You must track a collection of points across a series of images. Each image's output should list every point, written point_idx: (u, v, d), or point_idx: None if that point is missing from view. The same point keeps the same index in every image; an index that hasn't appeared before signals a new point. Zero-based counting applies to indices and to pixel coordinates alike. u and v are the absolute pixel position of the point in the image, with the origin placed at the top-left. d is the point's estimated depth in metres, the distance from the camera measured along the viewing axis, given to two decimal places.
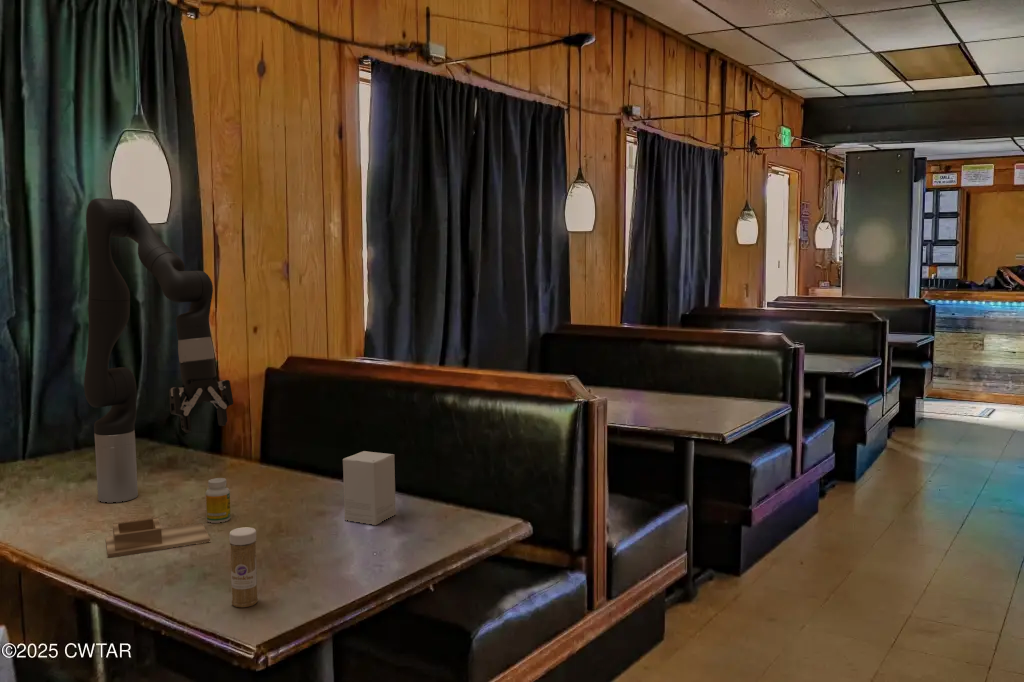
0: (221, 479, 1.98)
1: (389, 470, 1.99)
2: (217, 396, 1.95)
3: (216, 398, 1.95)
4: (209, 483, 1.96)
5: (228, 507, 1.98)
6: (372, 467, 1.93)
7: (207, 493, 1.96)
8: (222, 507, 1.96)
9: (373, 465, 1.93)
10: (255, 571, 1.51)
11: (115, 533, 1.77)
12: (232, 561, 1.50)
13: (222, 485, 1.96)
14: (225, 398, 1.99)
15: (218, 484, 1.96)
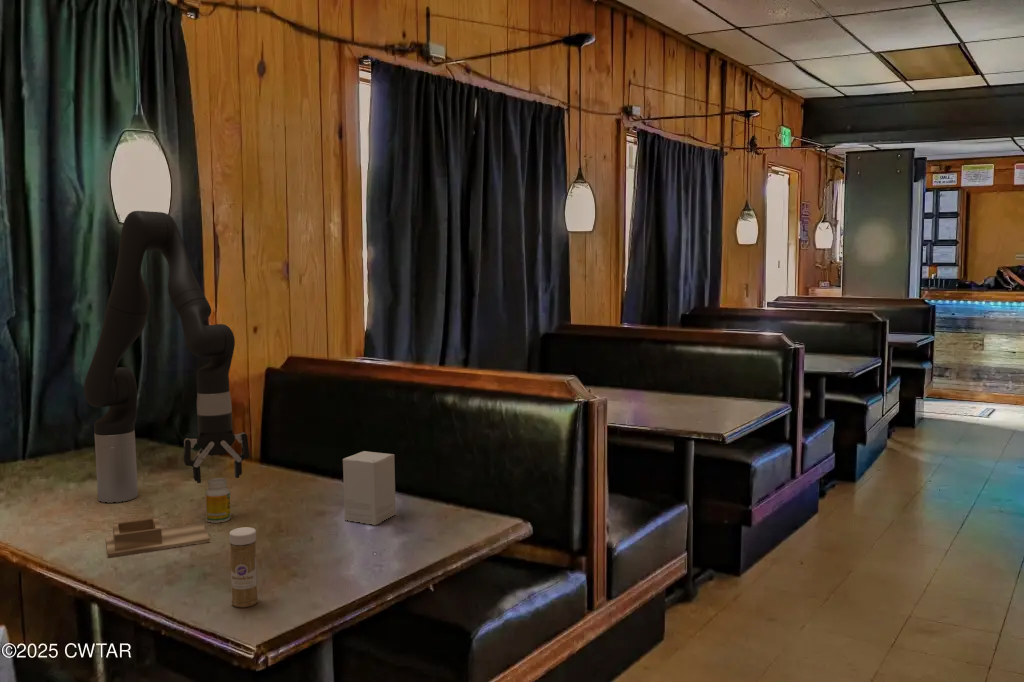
0: (221, 479, 1.98)
1: (389, 470, 1.99)
2: (231, 450, 1.97)
3: (229, 452, 1.97)
4: (209, 483, 1.96)
5: (228, 507, 1.98)
6: (372, 467, 1.93)
7: (207, 493, 1.96)
8: (222, 507, 1.96)
9: (373, 465, 1.93)
10: (255, 571, 1.51)
11: (115, 533, 1.77)
12: (232, 561, 1.50)
13: (222, 485, 1.96)
14: None
15: (218, 484, 1.96)
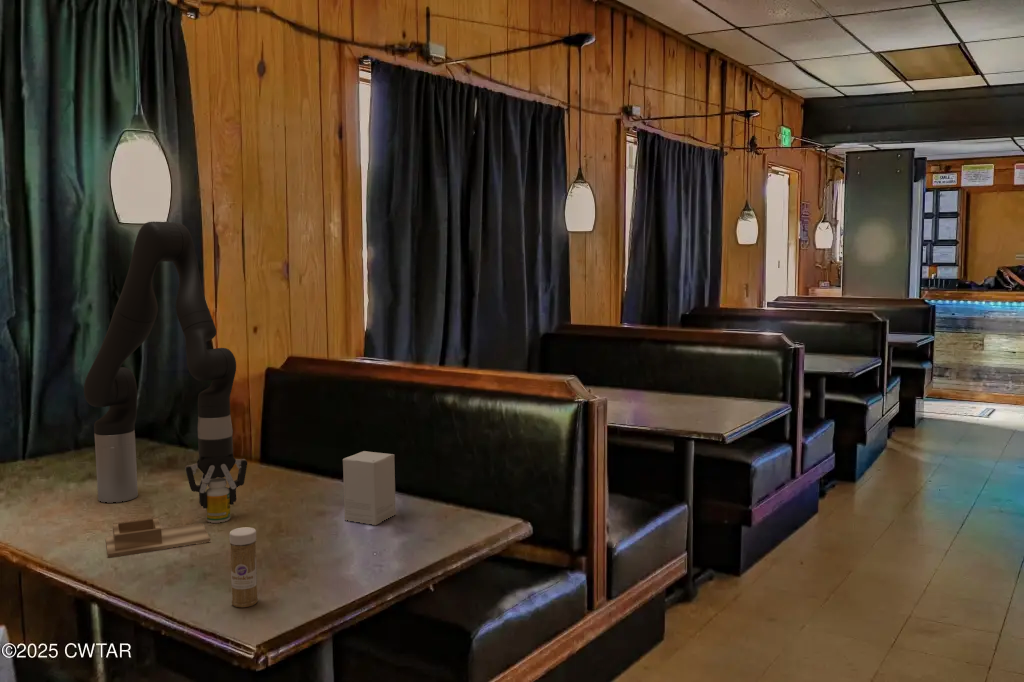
0: (221, 479, 1.98)
1: (389, 470, 1.99)
2: (228, 475, 1.97)
3: (227, 477, 1.97)
4: (209, 483, 1.96)
5: (228, 507, 1.98)
6: (372, 467, 1.93)
7: (207, 493, 1.96)
8: (222, 507, 1.96)
9: (373, 465, 1.93)
10: (255, 571, 1.51)
11: (115, 533, 1.77)
12: (232, 561, 1.50)
13: (222, 485, 1.97)
14: None
15: (218, 484, 1.96)
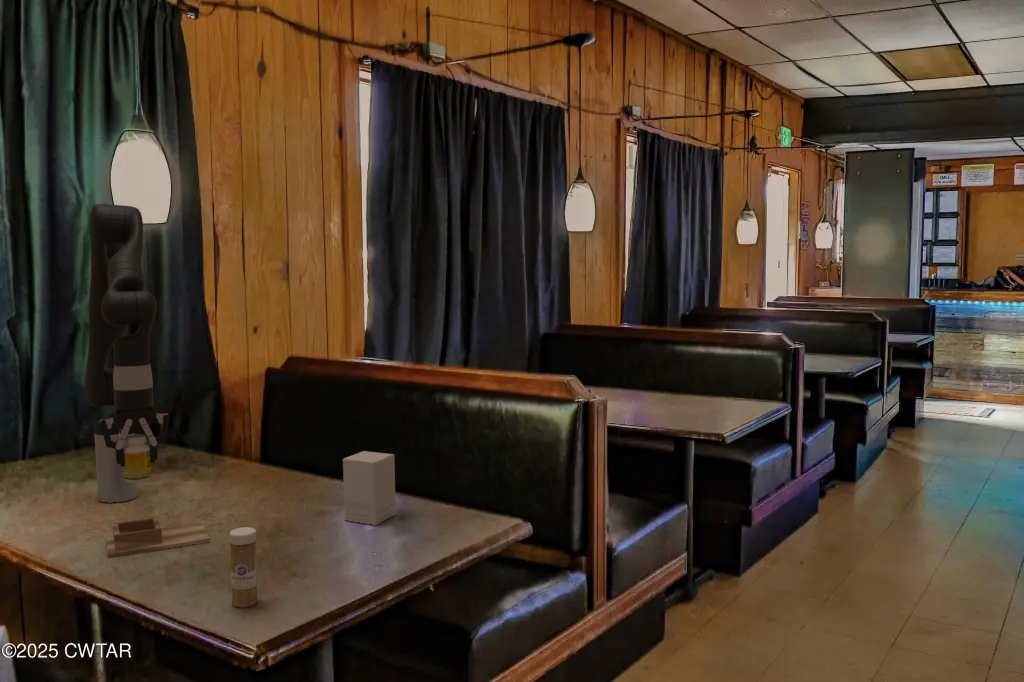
0: (141, 435, 1.81)
1: (389, 470, 1.99)
2: (148, 430, 1.80)
3: (146, 432, 1.80)
4: (127, 439, 1.79)
5: (148, 466, 1.81)
6: (372, 467, 1.93)
7: (124, 450, 1.79)
8: (141, 466, 1.79)
9: (373, 465, 1.93)
10: (255, 571, 1.51)
11: (115, 533, 1.77)
12: (232, 561, 1.50)
13: (141, 441, 1.79)
14: None
15: (137, 440, 1.79)
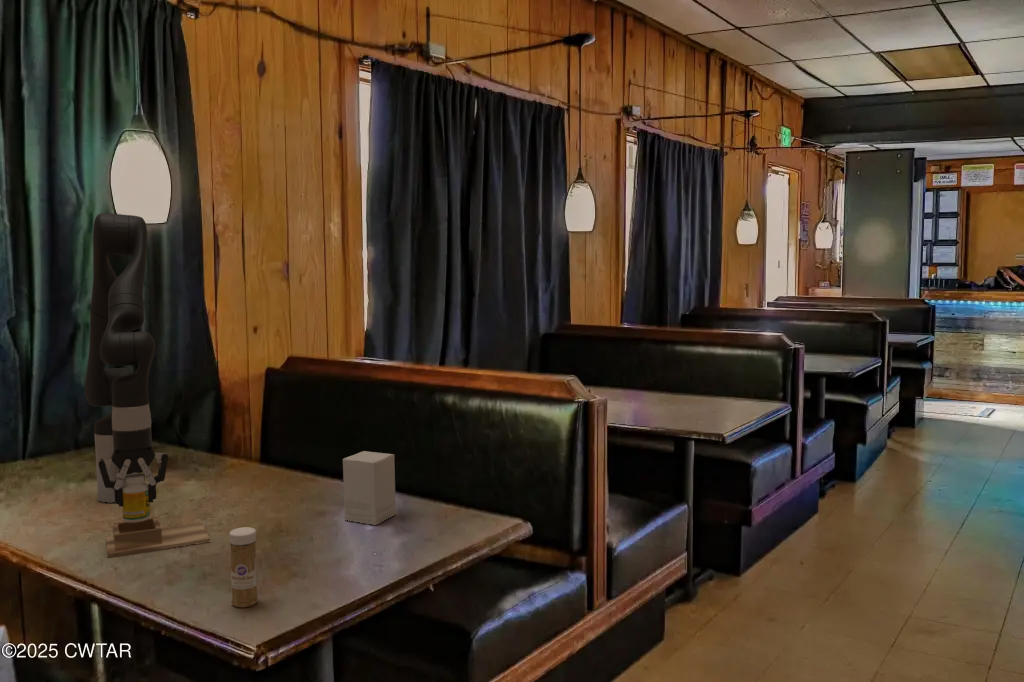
0: (139, 474, 1.82)
1: (389, 470, 1.99)
2: (147, 470, 1.80)
3: (145, 472, 1.80)
4: (125, 479, 1.79)
5: (147, 505, 1.81)
6: (372, 467, 1.93)
7: (123, 490, 1.79)
8: (139, 505, 1.80)
9: (373, 465, 1.93)
10: (255, 571, 1.51)
11: (115, 533, 1.77)
12: (232, 561, 1.50)
13: (139, 481, 1.80)
14: None
15: (135, 480, 1.79)
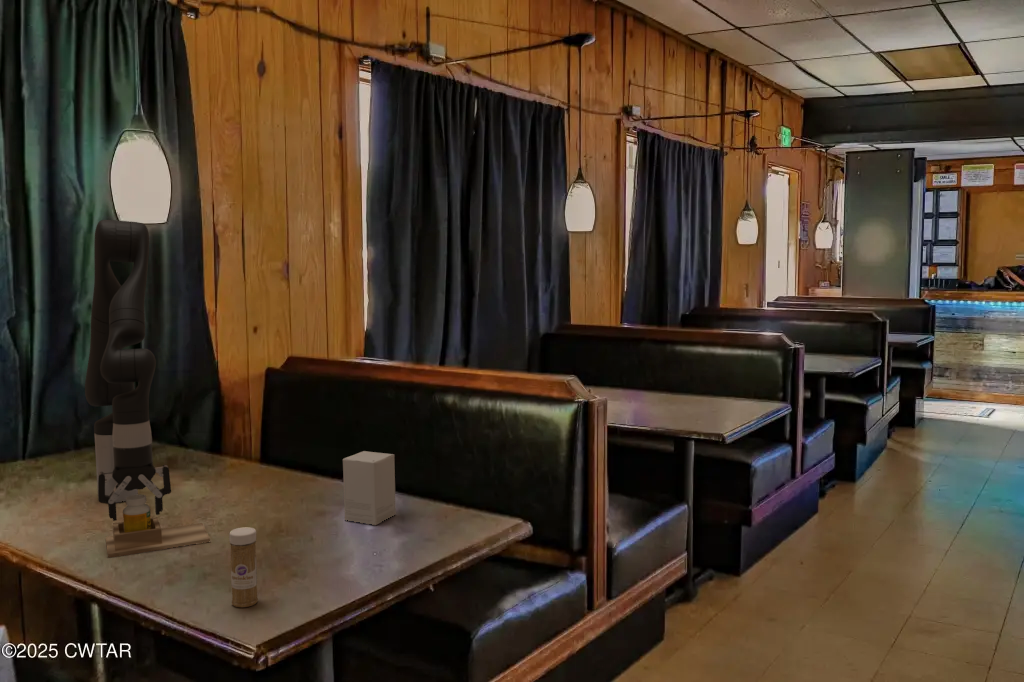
0: (141, 496, 1.82)
1: (389, 470, 1.99)
2: (150, 485, 1.81)
3: (148, 487, 1.81)
4: (127, 500, 1.80)
5: (148, 526, 1.82)
6: (372, 467, 1.93)
7: (124, 511, 1.80)
8: (140, 527, 1.80)
9: (373, 465, 1.93)
10: (255, 571, 1.51)
11: (115, 533, 1.77)
12: (232, 561, 1.50)
13: (140, 502, 1.80)
14: None
15: (137, 501, 1.80)
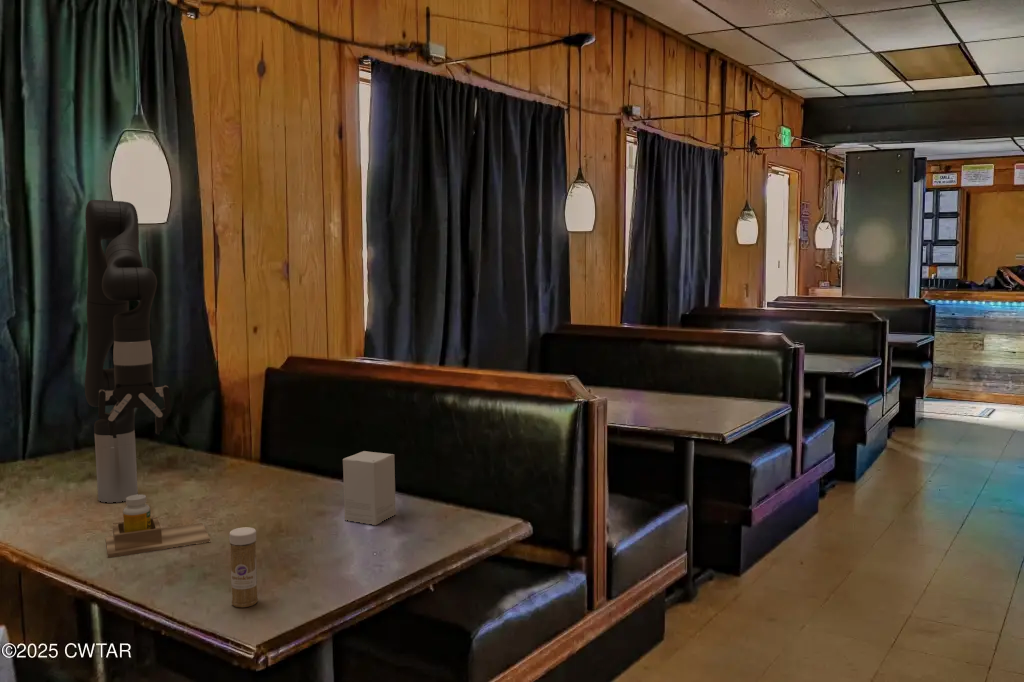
0: (141, 496, 1.82)
1: (389, 470, 1.99)
2: (150, 403, 1.82)
3: (149, 406, 1.82)
4: (126, 500, 1.80)
5: (148, 526, 1.82)
6: (372, 467, 1.93)
7: (124, 511, 1.80)
8: (140, 527, 1.80)
9: (373, 465, 1.93)
10: (255, 571, 1.51)
11: (115, 533, 1.77)
12: (232, 561, 1.50)
13: (140, 502, 1.80)
14: None
15: (137, 501, 1.80)
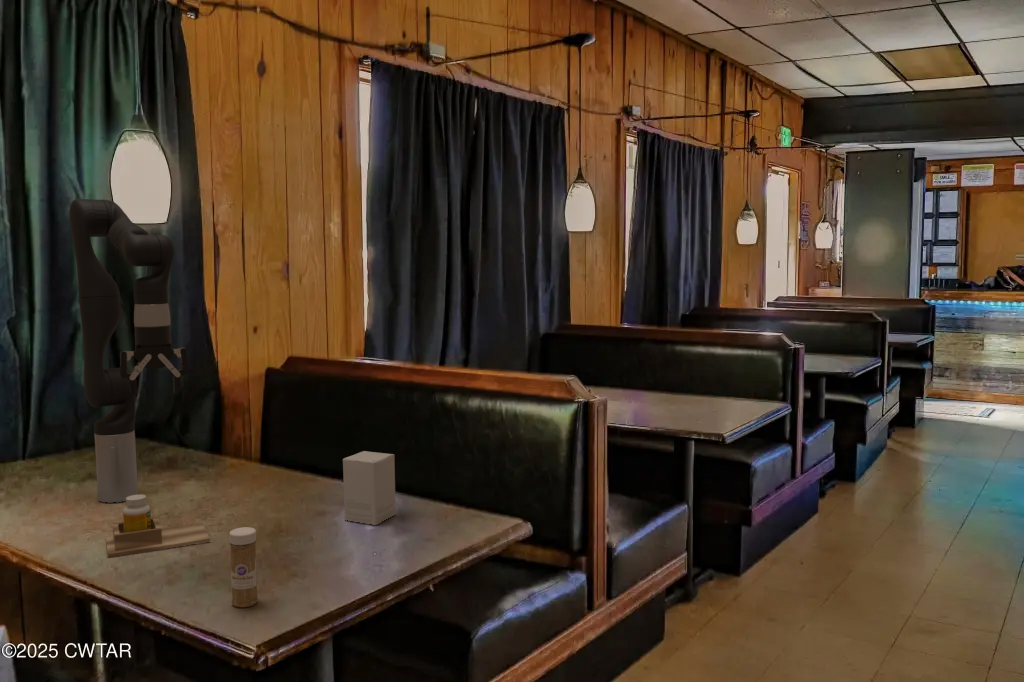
0: (141, 496, 1.82)
1: (389, 470, 1.99)
2: (169, 364, 1.93)
3: (167, 366, 1.93)
4: (127, 500, 1.80)
5: (148, 526, 1.82)
6: (372, 467, 1.93)
7: (124, 511, 1.80)
8: (140, 527, 1.80)
9: (373, 465, 1.93)
10: (255, 571, 1.51)
11: (115, 533, 1.77)
12: (232, 561, 1.50)
13: (140, 502, 1.80)
14: None
15: (137, 501, 1.80)
